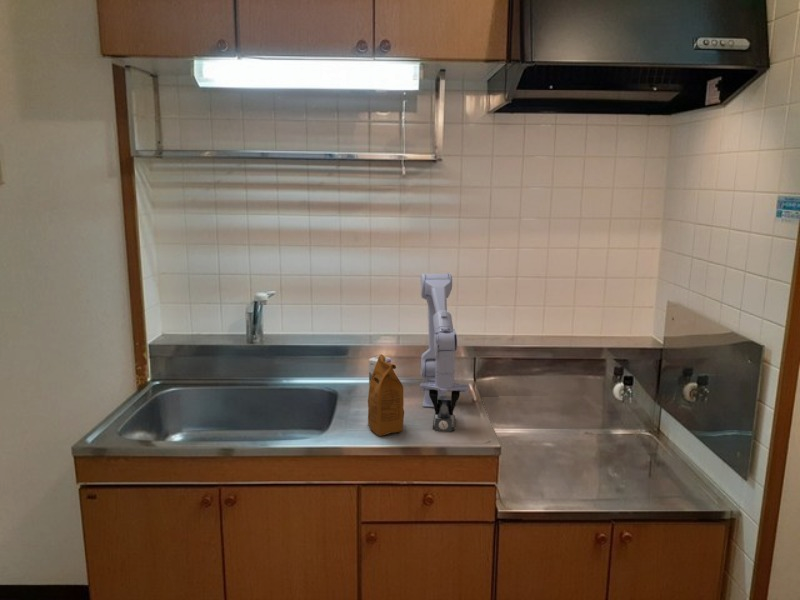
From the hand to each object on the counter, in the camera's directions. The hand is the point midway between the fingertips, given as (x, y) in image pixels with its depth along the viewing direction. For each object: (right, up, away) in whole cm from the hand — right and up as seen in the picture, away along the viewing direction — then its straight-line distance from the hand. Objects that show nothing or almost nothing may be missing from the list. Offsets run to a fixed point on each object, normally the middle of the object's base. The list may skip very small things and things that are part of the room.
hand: (444, 413), depth 179 cm
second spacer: (0, -1, 0) cm, 1 cm away
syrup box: (-20, 0, +23) cm, 31 cm away
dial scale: (0, -4, +3) cm, 5 cm away
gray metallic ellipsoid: (+1, -1, +5) cm, 5 cm away
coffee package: (-18, -5, 0) cm, 19 cm away
